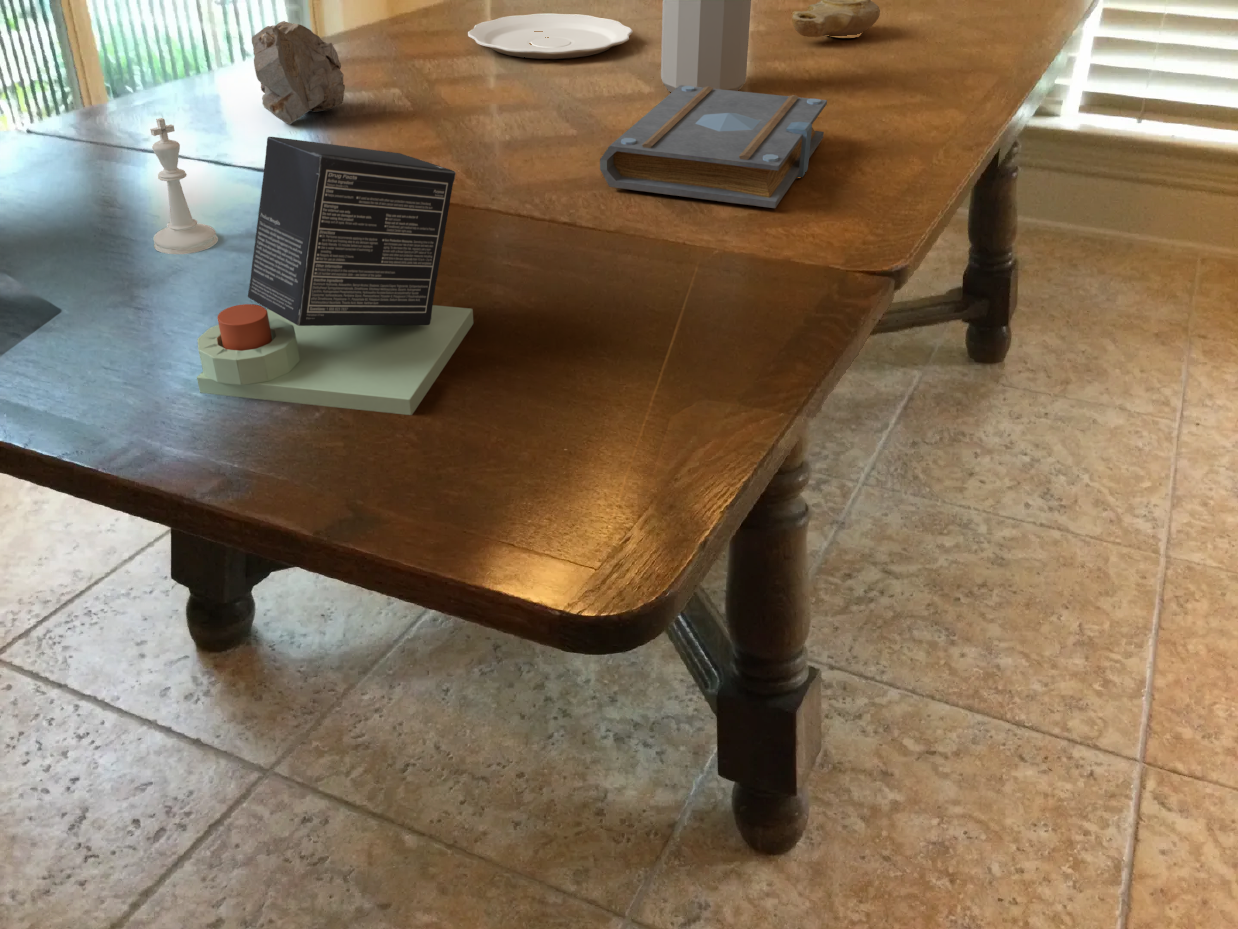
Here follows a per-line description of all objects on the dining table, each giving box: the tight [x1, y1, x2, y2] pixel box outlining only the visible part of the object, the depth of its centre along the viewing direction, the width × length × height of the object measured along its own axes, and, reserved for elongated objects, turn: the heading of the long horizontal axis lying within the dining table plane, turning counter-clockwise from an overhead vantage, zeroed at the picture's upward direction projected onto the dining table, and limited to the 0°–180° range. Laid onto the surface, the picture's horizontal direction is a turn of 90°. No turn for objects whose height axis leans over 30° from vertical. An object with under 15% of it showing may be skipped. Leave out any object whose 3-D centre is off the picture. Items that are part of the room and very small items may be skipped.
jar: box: [660, 0, 752, 93], centre depth 127 cm, size 10×10×18 cm
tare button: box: [216, 303, 272, 351], centre depth 73 cm, size 3×3×2 cm
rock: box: [251, 20, 346, 126], centre depth 120 cm, size 9×12×10 cm
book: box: [599, 85, 828, 209], centre depth 109 cm, size 21×16×5 cm
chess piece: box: [150, 117, 219, 255], centre depth 91 cm, size 5×5×10 cm
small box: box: [247, 136, 457, 326], centre depth 74 cm, size 11×6×10 cm, turn 135°
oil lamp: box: [791, 0, 881, 38], centre depth 152 cm, size 11×14×5 cm
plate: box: [467, 12, 633, 60], centre depth 149 cm, size 21×21×2 cm
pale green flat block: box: [196, 304, 474, 416], centre depth 76 cm, size 14×13×3 cm
